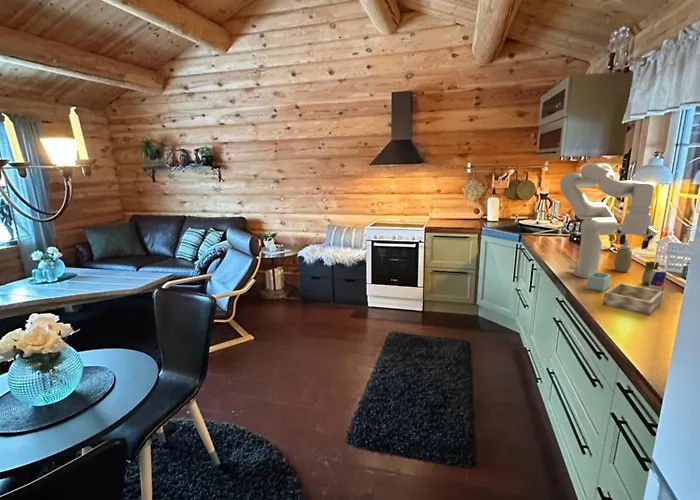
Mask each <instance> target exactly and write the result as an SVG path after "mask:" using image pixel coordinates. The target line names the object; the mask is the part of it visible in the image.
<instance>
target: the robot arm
mask: <svg viewBox="0 0 700 500" xmlns="http://www.w3.org/2000/svg"><path fill="white" fill-rule="evenodd" d="M615 178H616V175H615V172H614V171H613V168H612V167H611V165H610V164H608V163H603V162H599V163H597V162H596V163H595V162H593V163H587V164H585V165H583V167H582V168H581V170H580V172H568V173H566V174H564V175H562V177H561V179H560V182H559V187H560V191H561V194H562V195H563V197H565V199H566V200H567V202H568V203H569V205H570V207H571V209H572V210H573V212H574V213H575V215H576V217H577V218H578V219H580V220H582V222H581V223H580V243H579V244H580V245H579V253H578V259H577V260H578V261H577V265H573V264H569V266H568V268H569V269H570V270H573V275H574V276H576V277H579V278H584V279H588V275H590V274H592V273H594V272H599V270H598V269H599V264H600V259H601V252H602V251H601V250H602V241H601V238H600V236H610V235H613V234H615V233H617V234H618V236H619V239H618V240H619V241H618V243H619V246H621V245H623V244H625V239H626V240H627V236H626V235H633V236H637V237H638V236H639V237H642V239H643V240H642V243H641V250H646V249H648V247H649V243H650V241H651V240H652V239H654V238H655V237H656V236H657V235H658V232H659V231H657V230H655V229H654V228H652V215H651V213H650V212H651V207H652V202H653V201H652V200H653V196H654V191H655V184H654V183H652V182H644V181H643V182H642V181H637V180H616V179H615ZM595 186H598V187H599V191H601V192H602V193H604V194H606V195H608V196H610V197H612V198H631V199H630V204H629V205H628V206H627V207H626V209H627V210H628V211H627V212H626V213H625V216H624V219H623V220H622V223H621V224H619V223H618V221H617V219H616V218H615V216H614V214H613V213H612V211H611V210H610V209H609V206H608V205H607V204H606V203H604V202H601V201H590V200H589V199H588V198H587V196H586V194H585V193H584V192H583V191H581V190H580V189H588V188H592V187H595ZM650 233H651V234H650Z"/></svg>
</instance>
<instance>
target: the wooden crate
mask: <svg viewBox="0 0 700 500" xmlns="http://www.w3.org/2000/svg"><path fill="white" fill-rule="evenodd" d="M663 295H664V290H663V291H659V290H654V289H649V287H644V286H639V285H633V284H628V283H624V282H623V283H622V282H618V283H616V284H615V285H613V286H612V287H610V288H608V289H607V290H605V291H604V295H603V296H604V297H603V302H602V305H604V306H608V307H611V306H612V308H615V307H616V309H619V308H620V309H621V310H624V311H628V312H632V313H637V314H641V315H646V316H649V317H650V316H651V315H652V314H653V312H655V311H656V309H658V307H659V306H660V305H661V304H662V301H663Z"/></svg>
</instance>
